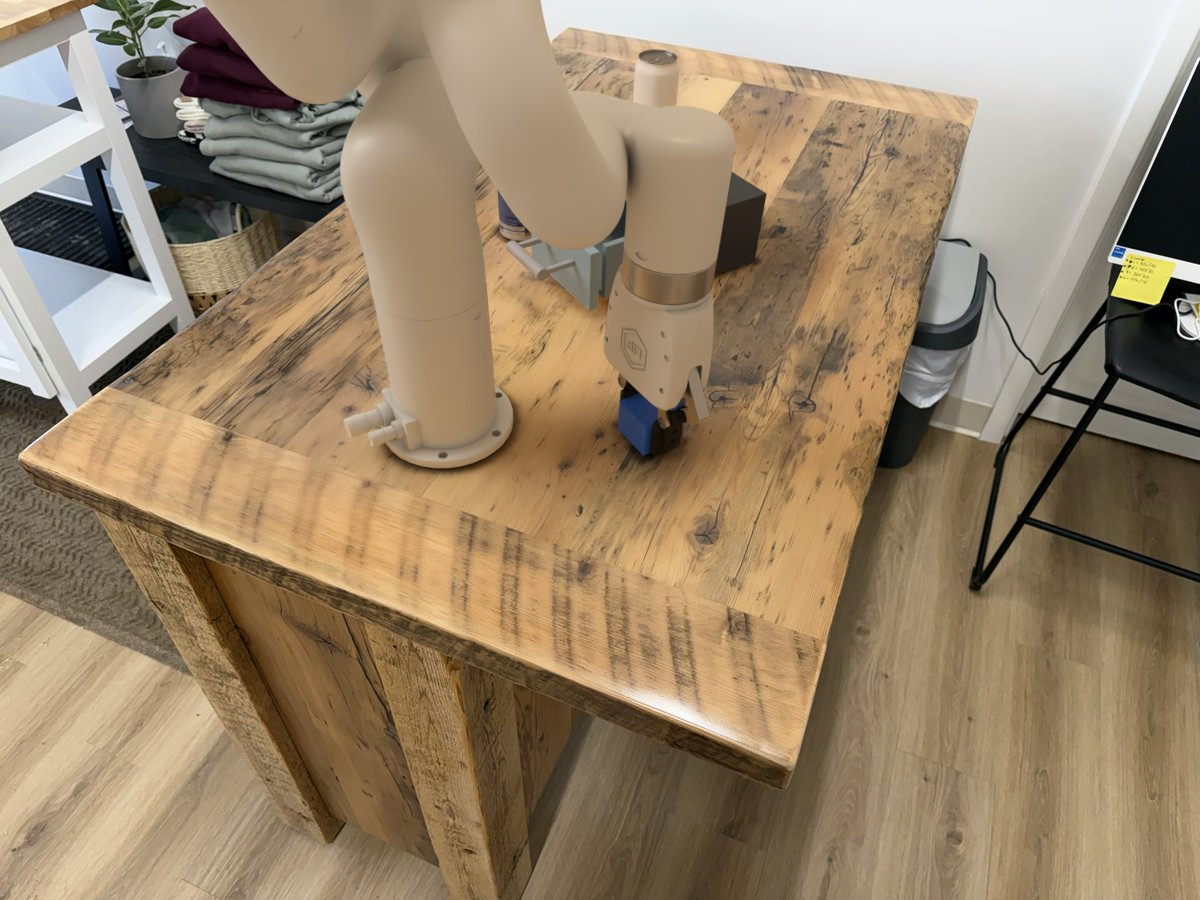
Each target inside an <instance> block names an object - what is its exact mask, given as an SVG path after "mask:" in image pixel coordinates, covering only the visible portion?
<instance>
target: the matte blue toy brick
mask: <svg viewBox="0 0 1200 900" xmlns="http://www.w3.org/2000/svg"><path fill="white" fill-rule="evenodd" d="M674 409H677V406H676V407H674V408H672V409H670V411H671V410H674ZM656 420H658V408H657V407H655V406H654V405H653V404H652V403H650V402H649V401H648V400H647V399H646V398H645V397H644V396H643V395H642V394H641V393H638V394H636V395H633V396H631V397H628V398H625V399H623V400H621V401H620V400H619V401H618V415H617V425H616V429H617V430H618V431H619V432H620V433H621V434H622V435H623V436H624V437H625V439H627V441H628V442H629V443H630V444H631V445H632V446H633V447H634V448H635V449H636V450H637V451H638V452H639V453H640V454H641V455H642V456H643V457H644V456H647V455H648V454H652V453H651V452H650V445H651V437H652V429H653V422H654V421H656Z"/></svg>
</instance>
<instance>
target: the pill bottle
mask: <svg viewBox="0 0 1200 900" xmlns="http://www.w3.org/2000/svg"><path fill="white" fill-rule="evenodd" d="M496 191H497V203H498V204H497V207H498V220H499V221H498V223H499V231H500V234H501V235H502V236H503V237H504V238H505V239H508V240H510V241H511V240H514V241H516V242H518V241H519V242H522V241H525V240H528V239H531V232H530V231H529V230H528V229H527V228H526V227H525V226H524V225H523V224H522V223H521V222H520V221H519V220H518V218H517V217H516V216H515V215H514V213H513V212H512V211H511V209H510V208H509V206H508V205H507V203H506V202H505V200H504V199H503V197H502V196H501V194H500V193H499V191H498V190H497V189H496Z"/></svg>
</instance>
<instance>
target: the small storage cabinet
mask: <svg viewBox="0 0 1200 900" xmlns="http://www.w3.org/2000/svg"><path fill="white" fill-rule="evenodd" d="M766 199H767V192H765V191H763V190H762V189H760V188H759V187H758V186H755V185H754V184H752V183H751V182H749V181H747V180H746V179H745V178H743V177H741V176H739V175H738V174H737V173H735V172H733V171H732V172H731V179H730V185H729V191H728V197H727V203H726V209H725V215H724V221H723V227H722V233H721V239H720V244H719V251H718V256H717V263H716V269H715V275H714V277H716V276H718V275H721V274H723V273H726V272H730V271H732V270H734V269H737V268H740V267H743V266H745V265H748V264H751V263H755V261H756V255H757V250H758V245H759V239H760V234H761V228H762V222H763V216H764V212H765V211H764V210H765V205H766V201H767V200H766ZM625 202H626V200H625Z"/></svg>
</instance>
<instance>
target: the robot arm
mask: <svg viewBox="0 0 1200 900" xmlns="http://www.w3.org/2000/svg"><path fill="white" fill-rule="evenodd" d="M200 2H201V3H202V4H203V6H205V7H206V8H207V9H208V11H209V13H211V14H212V15H213V17H214V18H215V20H217V21H218V23H220V25H221V26H222V27H223V28H224V29H225V32H227V33H228V34H229V35H230V36H231V38H232V39H233V40H234V41H235V43H236V44H237V45H238V46H239V47H240V49H242V51H243V52H244V53H245V54H246V56H248V58H249V59H250V61H252V63H253V64H254V65H255V66H256V67H257V69H258V70H259V71H260V72H261V73H262V74H263V75H264V76H265V77H266V79H268V81H270V82H271V83H272V84H273V85H274V86H276V88H278V89H279V90H281V91H282V92H283V93H284V94H285V95H286V96H289V97H291V98H293V99H295V100H297V101H300V102H302V103H305V104H311V105H327V104H330V103H331V104H332V103H334V102H336V101H339V100H341V99H343V98H345V97H347V96H348V95H349V94H350V93H351V92H353V91H354V90H355V89H356V91H357V92H358V93H359V95H361V97H362V98H363V99H364V100H365V102H364V104H363V106H362V107H361V109H360V110H359V112H358V113H357V115H356V117H355V118H354V120H353V122H352V124H351V126H350V127H349V129H348V132H347V135H346V137H345V140H344V143H343V147H342V150H341V154H340V163H339V179H340V187H341V191H342V195H343V199H344V202H345V205H346V208H347V211H348V213H349V216H350V219H351V221H352V224H353V226H354V229H355V230H356V234H357V237H358V240H359V243H360V248H361V251H362V254H363V258H364V262H365V267H366V271H367V277H368V281H369V286H370V291H371V296H372V299H373V305H374V310H375V315H376V320H377V324H378V330H379V335H380V340H381V346H382V349H383V350H382V351H383V355H384V361H385V367H386V371H387V377H388V381H389V387H385V388H382V390H381V394H382V401H380V402H377V403H375V404H374V409H370V410H368V411H364V412H359V413H356V414H353V415H350V416H348V417H346V418H344V419H342V422H343V426H344V428H345V431H346V433H347V435H348V437H349V438H350V439H354V438H356V437H359V436H362V435H365V434H366V436H367V438H368V442H369V444H370V446H371V447H372V448H375V447H378V446H381V445H383V444H385V445H386V446H387V447H388V448H389V450H390V451H391V452H392V453H393V454H395V455H396V456H397V457H398V458H400V459H402V460H404V461H406V462H407V463H410V464H413V465H416V466H420V467H424V468H431V469H451V468H452V469H453V468H460V467H463V466H467V465H471V464H474V463H476V462H479V461H481V460H483V459H484V460H485V459H486V458H487V457H489V456H490V455H492V454H494V453H496V451H498V450H499V449H500V448H501V447H502V446H503V445H504V444H505V442H506V441H507V440H508V439H509V437H510V434H511V433H512V431H513V426H514V409H513V406H512V402H511V400H510V399H509V397H508V395H507V394H506V392H504V391H503V389H501V388H500V387H498V386H497V385H496V383H495V382H496V381H495V371H494V370H495V369H494V357H493V343H492V333H491V332H492V331H491V319H490V307H489V306H490V305H489V295H488V294H489V293H488V283H487V275H486V263H485V262H486V261H485V253H484V246H483V240H482V235H481V231H480V227H479V222H478V215H477V207H476V189H477V188H476V187H477V179H478V175H479V173H480V169H481V167H482V168H483V170H484V171H485V173H486V174H487V177H489V179H490V180H491V182H492V184H493V185H494V187H495V188H496V191H497V190H498V191H499V193H500V194H501V196H502V197H503V199H504V200H505V202H506V203H507V205H508V206H509V208H510V209H511V211H512V212H513V213H514V215H515V216H516V217H517V218H518V220H519V221H520V222H521V223H522V224H523V225H524V226H525V227H526V228H527V229H528V230H529V231H530V232H531V233H532V234H533V235H534V236H536V237H537V238H538V239H540V240H541V241H543V242H545V243H547V244H549V245H551V246H553V247H556V248H560V249H564V250H580V249H585V248H589V247H592V246H594V245H596V244H598V243H599V242H601V241H603V240H604V239H605V238H606V237H607V236H608V235H609V234H610V233H611V232H612V231H613V229H614V228H615V227H616V225H617V224H618V222H619V220H620V218H621V215H622V212H623V209H624V204H625V200H626V203H627V210H626V223H625V236H624V251H623V264H621V265H620V267H619V268H618V271H617V274H616V276H615V279H614V283H613V286H612V290H611V295H610V298H608V299H609V300H608V305H607V311H606V319H605V327H604V337H603V353H604V356H605V358H606V359H607V361H608V363H609V364H610V365H611V366H612V367H613V368H614V369H615V370H616V371H617V373H618V375H617V383H618V386H619V387H620V388H621V390H620V396H619V401H621V400H623V399H625V398H628V397H631V396H633V395H636V394H638V393H641V394H642V395H643V396H644V397H645V398H646V399H647V400H648V401H649V402H650V403H652V404H653V405H654V406H655V407H657V408H658V420H656V421H654V422H653V429H652V437H651V445H650V452H651V453H650V454H651V455H652V456H658V455H661V454H663V453H665V452H669V451H671V450H673V449H675V448H676V447H677V446H679V445H680V443H681V439H682V434H683V433H682V432H683V427H684V424H687V425H701V424H702V423H704V422H706V421H709V420H711V419H710V418H711V413H710V410H709V406H708V402H707V399H706V395H705V391H706V389H707V385H708V382H709V378H710V373H711V366H712V357H713V346H714V330H715V329H714V328H715V318H714V317H715V316H714V315H715V313H714V312H715V311H714V298H713V297H712V295H711V294H712V293H713V292H712V291H713V285H714V280H715V276H714V275H715V269H716V263H717V256H718V251H719V244H720V239H721V233H722V227H723V221H724V215H725V209H726V203H727V197H728V191H729V185H730V179H731V172H733V166H734V160H735V154H736V136H735V133H734V130H733V129H732V126H731V124H730V123H729V122H728V121H727V120H726V119H725V118H724V117H722V116H721V115H720V114H718V113H715V112H713V111H710V110H708V109H704V108H702V107H696V106H689V105H676V106H667V107H662V108H657V107H652V106H647V105H643V104H639V103H635V102H633V101H630V100H627V99H624V98H619V97H616V96H612V95H609V94H605V93H601V92H596V91H592V90H591V91H590V90H578V89H577V90H569V89H568V87H567V85H566V84H567V83H566V82H565V80H564V77H563V75H562V72H561V70H560V68H559V65H558V62H557V59H556V56H555V54H554V53H555V52H554V51H553V47H552V44H551V41H550V37H549V34H548V30H547V26H546V21H545V18H544V13H543V7H542V1H541V0H200ZM498 191H497V192H498ZM676 406H677V409H674V410H671V411H670V409H672V408H674V407H676ZM378 428H379V429H378ZM375 429H376V430H375ZM372 430H373V431H372Z"/></svg>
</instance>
